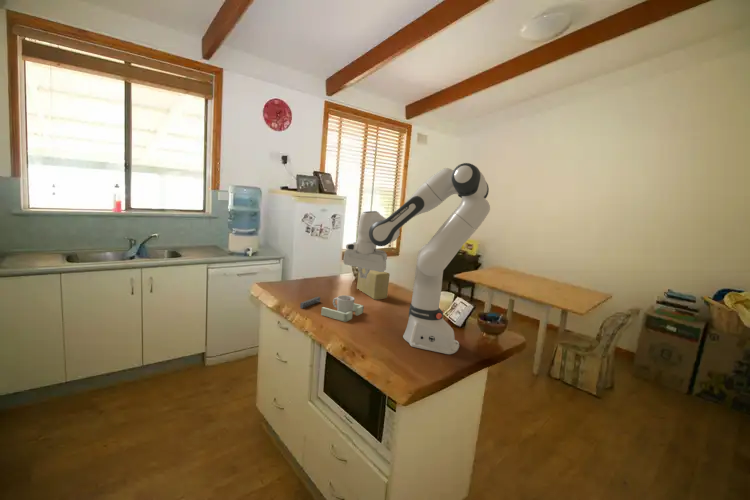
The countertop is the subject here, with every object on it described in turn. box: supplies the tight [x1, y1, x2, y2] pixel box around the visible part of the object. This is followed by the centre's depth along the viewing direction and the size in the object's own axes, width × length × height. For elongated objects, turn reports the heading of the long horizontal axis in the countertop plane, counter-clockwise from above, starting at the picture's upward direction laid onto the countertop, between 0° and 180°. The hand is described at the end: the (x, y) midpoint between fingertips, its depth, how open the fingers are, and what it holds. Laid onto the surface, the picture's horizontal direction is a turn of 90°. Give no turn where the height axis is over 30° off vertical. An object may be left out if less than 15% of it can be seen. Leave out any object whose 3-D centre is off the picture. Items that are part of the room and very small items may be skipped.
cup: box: [332, 295, 356, 313], centre depth 161 cm, size 11×8×8 cm
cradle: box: [320, 302, 365, 323], centre depth 162 cm, size 13×16×4 cm
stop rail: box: [300, 296, 321, 310], centre depth 169 cm, size 2×14×2 cm, turn 154°
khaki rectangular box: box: [356, 268, 390, 301], centre depth 199 cm, size 22×10×15 cm, turn 39°
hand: (362, 277), depth 155 cm, fingers closed
